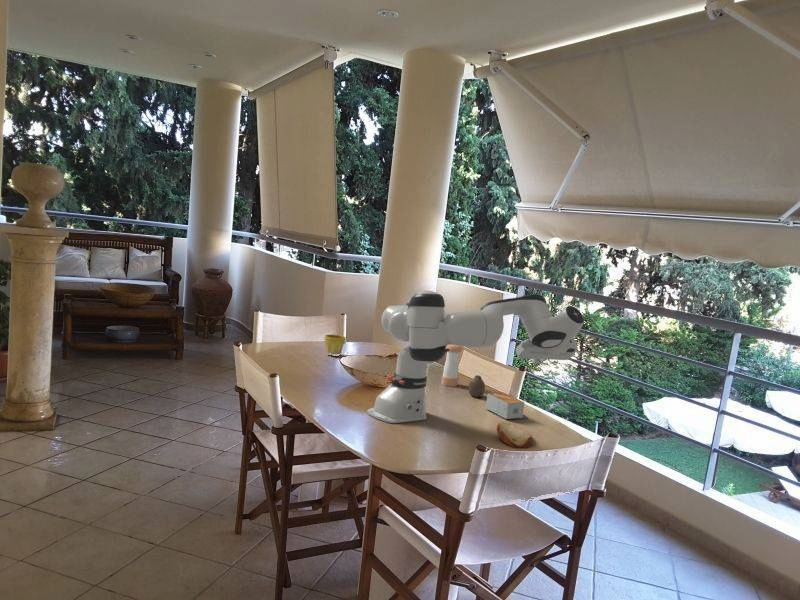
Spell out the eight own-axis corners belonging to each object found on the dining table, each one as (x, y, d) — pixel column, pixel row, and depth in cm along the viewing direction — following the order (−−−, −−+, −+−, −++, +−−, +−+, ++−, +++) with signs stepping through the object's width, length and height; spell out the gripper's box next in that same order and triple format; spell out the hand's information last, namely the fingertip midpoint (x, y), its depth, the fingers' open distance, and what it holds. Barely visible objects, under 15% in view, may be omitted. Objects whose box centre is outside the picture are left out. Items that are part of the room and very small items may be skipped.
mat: (528, 418, 226) (528, 417, 226) (501, 418, 223) (501, 417, 223) (512, 407, 239) (512, 406, 239) (486, 406, 237) (487, 405, 236)
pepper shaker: (457, 383, 269) (462, 341, 267) (457, 387, 262) (462, 344, 259) (441, 381, 269) (446, 339, 267) (441, 385, 262) (446, 342, 260)
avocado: (479, 399, 245) (482, 379, 244) (464, 395, 249) (467, 375, 248) (486, 396, 251) (489, 376, 250) (471, 392, 255) (474, 373, 254)
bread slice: (502, 425, 216) (504, 415, 215) (547, 441, 204) (548, 430, 204) (474, 434, 203) (475, 424, 202) (520, 451, 191) (521, 440, 190)
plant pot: (335, 352, 305) (337, 333, 304) (347, 356, 298) (349, 337, 296) (319, 353, 298) (320, 334, 297) (331, 358, 291) (333, 338, 289)
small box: (508, 402, 220) (487, 392, 232) (506, 419, 221) (485, 408, 232) (525, 401, 224) (503, 392, 235) (522, 418, 225) (501, 407, 236)
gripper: (528, 347, 196) (511, 368, 207) (582, 350, 202) (563, 370, 213) (523, 331, 200) (507, 353, 211) (576, 334, 206) (558, 355, 216)
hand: (535, 362), depth 212 cm, fingers closed
